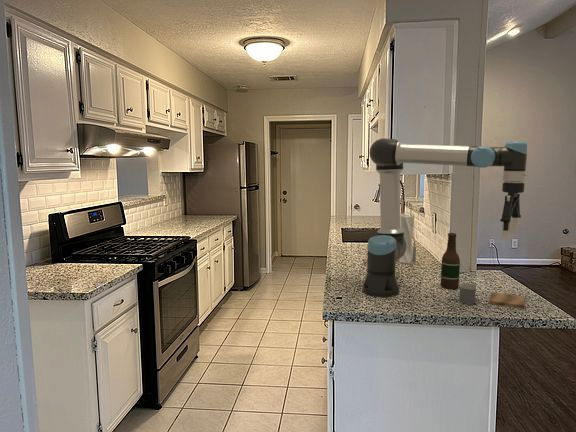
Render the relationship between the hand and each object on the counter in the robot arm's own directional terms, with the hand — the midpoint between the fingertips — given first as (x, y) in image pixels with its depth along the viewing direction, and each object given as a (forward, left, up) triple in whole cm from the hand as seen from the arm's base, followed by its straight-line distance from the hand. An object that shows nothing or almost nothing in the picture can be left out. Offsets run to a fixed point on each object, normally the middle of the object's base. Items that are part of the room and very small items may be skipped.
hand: (509, 236), depth 171 cm
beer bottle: (-22, +9, -26) cm, 36 cm away
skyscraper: (-49, +44, -26) cm, 71 cm away
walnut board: (+1, -1, -26) cm, 26 cm away
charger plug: (-13, -7, -26) cm, 30 cm away
